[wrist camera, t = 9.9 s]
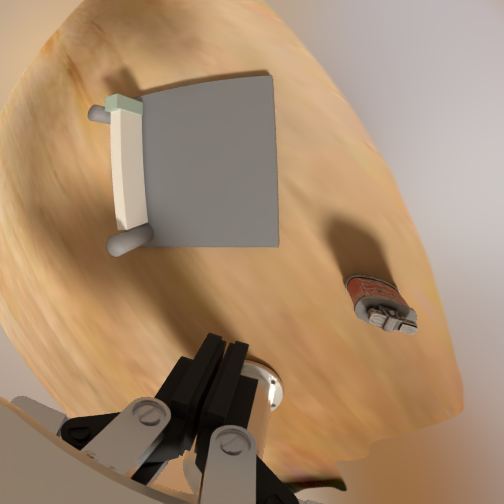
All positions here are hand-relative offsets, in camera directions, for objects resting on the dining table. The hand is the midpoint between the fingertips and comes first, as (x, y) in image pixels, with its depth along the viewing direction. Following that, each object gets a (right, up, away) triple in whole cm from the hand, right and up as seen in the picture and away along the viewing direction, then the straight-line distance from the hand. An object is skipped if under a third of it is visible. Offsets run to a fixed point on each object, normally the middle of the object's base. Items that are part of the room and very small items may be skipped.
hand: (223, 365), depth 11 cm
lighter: (+17, 0, +24) cm, 29 cm away
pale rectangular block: (-14, +16, +22) cm, 31 cm away
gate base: (-6, +16, +23) cm, 29 cm away
